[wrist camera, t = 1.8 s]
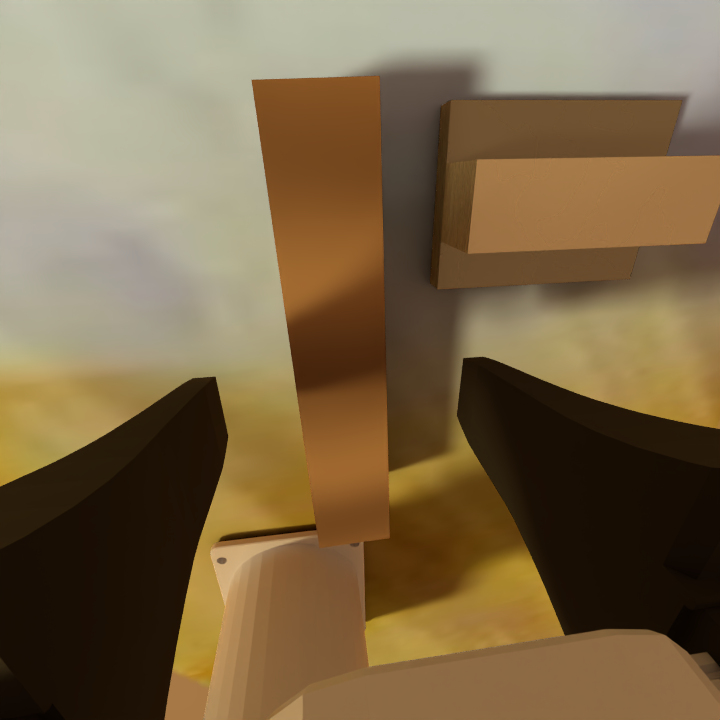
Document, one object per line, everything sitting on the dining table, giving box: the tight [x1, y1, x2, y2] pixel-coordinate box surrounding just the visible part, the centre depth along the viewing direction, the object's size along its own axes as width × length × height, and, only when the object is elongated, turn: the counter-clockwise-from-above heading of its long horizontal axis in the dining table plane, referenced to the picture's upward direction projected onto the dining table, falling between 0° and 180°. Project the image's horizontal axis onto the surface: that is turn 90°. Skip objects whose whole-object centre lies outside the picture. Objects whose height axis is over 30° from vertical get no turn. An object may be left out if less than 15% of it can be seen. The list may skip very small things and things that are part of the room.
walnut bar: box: [252, 76, 390, 548], centre depth 14 cm, size 16×3×4 cm, turn 3°
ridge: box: [430, 100, 720, 289], centre depth 13 cm, size 6×8×4 cm
